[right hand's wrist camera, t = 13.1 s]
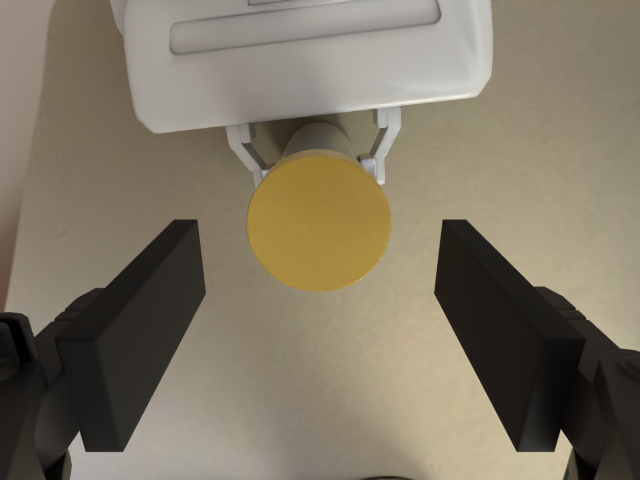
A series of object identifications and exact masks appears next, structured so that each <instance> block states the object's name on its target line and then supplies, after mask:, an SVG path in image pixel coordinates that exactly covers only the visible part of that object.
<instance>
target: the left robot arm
mask: <svg viewBox="0 0 640 480" xmlns="http://www.w3.org/2000/svg"><path fill="white" fill-rule="evenodd" d="M110 4H111V8H112V12H113V16H114V20H115V23H116V26H117V28H118V30H119V32H120V34H121V35H122V37H123V41H124V51H125V61H126V68H127V76H128V82H129V88H130V93H131V98H132V103H133V108H134V112H135V115H136V117H137V119H138V120H139V121H140V122H141V123H142V124H143V125H145V126H146V127H147V128H148V129H149V130H150V131H151V132H153V133H166V132H175V131H184V130H193V129H201V128H210V127H219V126H225V129H226V134H227V139H228V145H229V147H230V148H231V149H232V150H233V151H234V153H235V154H236V155H237V156H238V157H239V159H240V160H241V161H242V162H243V163H244V165H245V166H246V167H247V168H248V170H249V171H252V174H253V180H254V186H255V190H256V189H257V187H258V185H259V183H260V181H261V180H262V179H263V177H264V176H265V174H266V173H267V172H268V171H269V170H270V169H271V168H272V167H273V166H274V165H275V164H266V165H265V162H264V161H263V160H262V158H261V157H260V156H259V154H258V153H257V152H256V150H255V149H254V148H253V146H252V145H251V144H250V142H251V141H252V140H253V139H254V138H255V137H256V132H255V126H254V122H263V121H272V120H280V119H289V118H298V117H307V116H315V115H324V114H333V113H342V112H350V111H359V110H368V109H373V122H374V124H375V125H377V126H378V127H379V128H381V130H380V132H379V134H378V136H377V138H376V140H375V142H374V145H373V147H372V149H371V151H370V153H367V154H359V155H358V161H359V162H360V163H361V164H362V165H364V166H365V167H366V168H367V169H368V170H369V171H370V173H371V174H372V175H373V176H374V178H375V179H376V181H377V183H378V184H379V185H380V184H385V168H384V157H385V156H386V155H387V153H388V151H389V149H390V147H391V146H392V144H393V142H394V140H395V138H396V136H397V134H398V132H399V130H400V128H401V106H403V105H412V104H421V103H429V102H438V101H447V100H456V99H464V98H473V97H476V96H477V95H478V94H479V93H480V92H481V91H482V89H483V88H484V87H485V85H486V84H487V82H488V81H489V79H490V77H491V74H492V65H493V24H492V7H491V0H110Z"/></svg>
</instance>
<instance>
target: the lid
mask: <svg viewBox="0 0 640 480" xmlns="http://www.w3.org/2000/svg"><path fill="white" fill-rule="evenodd" d="M246 227H247V235H248V240H249V243H250V246H251V249H252V251H253V253H254V255H255V257H256V258H257V260H258V261H259V263H260V264H261V265H262V266H263V268H264V269H265V270H266V271H267V272H268V273H269V274H271V275H272V276H273V277H274V278H276V279H277V280H279V281H281V282H282V283H284V284H286V285H288V286H291V287H294V288H296V289H300V290H305V291H312V292H326V291H333V290H337V289H341V288H344V287H347V286H349V285H351V284H353V283H355V282H357V281H359V280H360V279H362V278H363V277H364V276H366V275H367V274H368V273H369V272H370V271H371V270H372V269H373V268H374V267H375V266H376V265H377V263H378V262H379V260H380V259H381V257H382V256H383V254H384V252H385V250H386V247H387V244H388V241H389V237H390V231H391V217H390V210H389V206H388V203H387V200H386V198H385V195H384V193H383V192H382V190H381V188H380V186H379V184H378V183H377V181H376V179H375V178H374V176H373V175H372V174H371V173H370V171H369V170H368V169H367V168H366V167H365V166H364V165H362V164H361V163H360V162H358V161H357V160H355V159H354V158H352V157H350V156H348V155H346V154H343V153H340V152H337V151H333V150H326V149H311V150H305V151H301V152H297V153H294V154H292V155H290V156H287V157H285V158H284V159H282V160H281V161H279V162H278V163H276V164H275V165H274V166H273V167H272V168H271V169H270V170H269V171H268V172H267V173H266V174H265V176H264V177H263V179H262V180H261V181H260V183H259V185H258V187H257V189H256V190H255V192H254V194H253V196H252V198H251V201H250V204H249V207H248V212H247V221H246Z"/></svg>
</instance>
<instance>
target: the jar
mask: <svg viewBox="0 0 640 480" xmlns="http://www.w3.org/2000/svg"><path fill="white" fill-rule="evenodd" d="M311 149H326V150H333V151H337V152H340V153H343V154H346V155H348V156H350V157H352V158H354V159H355V160H357V161H358V158H357V156H356V154H355V152H354V150H353V148H352V145H351V143H350V141H349V139H348V138H347V136H346V135H345V134H344V133H343V132H342V131H341V130H340V129H339V128H338V127H336V126H334V125H332V124H329V123H325V122H314V123H310V124H307V125H305V126H303V127H301V128H300V129H298V130H297V131H296V132H295V133H294V134H293V136H292V137H291V138H290V140H289V142H288V144H287V147H286V149H285V151H284V153H283V155H282V157H281V159H280V161H281V160H282V159H284V158H285V157H287V156H290V155H292V154H294V153H297V152H301V151H305V150H311ZM358 162H359V161H358Z"/></svg>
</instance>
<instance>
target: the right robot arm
mask: <svg viewBox="0 0 640 480" xmlns="http://www.w3.org/2000/svg"><path fill="white" fill-rule="evenodd" d="M205 294H206V290H205V282H204V273H203V264H202V256H201V247H200V239H199V230H198V221H197V220H173V221H172V222H171V223H170V224H169V225H168V226H167V227H166V228H165V229H164V230H163V231H162V232H161V233H160V234H159V235H158V236H157V237H156V238H155V239H154V240H153V241H152V242H151V243H150V244H149V245H148V246H147V247H146V248H145V249H144V250H143V251H142V252H141V253H140V254H139V255H138V256H137V257H136V258H135V259H134V260H133V261H132V262H131V263H130V264H129V265H128V266H127V267H126V268H125V269H124V270H123V271H122V272H121V273H120V274H119V275H118V276H117V277H116V278H115V279H114V280H113V281H112V282H111V283H110V284H109V285H108V286H107V287H106V288H95V289H93V290H91V291H89V292H88V293H86V294H84V295H82V296H80V297H78V298H77V299H76V300H75V301H73V302H72V303H71V304H70V305H69V306H68V307H67V308H66V309H65V312H61V313H60V314H59V315H58V316H57V317H56V318H55V319H54V322H51V323H50V324H48V325H47V326H46V327H45V328H44V329H43V330H42V331H41V332H40V333H39V334H38V335H36V336H35V337H34V335H33V332H32V329H31V326H30V322H29V319H28V317H26V316H25V315H23V314H21V313H13V312H6V313H0V480H70V475H71V468H72V464H71V458H70V454H69V451H68V447H69V445H70V444H71V442H72V441H73V439H74V438H75V436H76V435H77V434H78V432H79V431H80V433H81V437H82V440H83V444H84V447H85V451H86V452H123V451H124V449H125V447H126V445H127V443H128V441H129V440H130V438H131V436H132V434H133V432H134V430H135V428H136V426H137V424H138V422H139V420H140V419H141V417H142V415H143V413H144V411H145V409H146V407H147V405H148V403H149V401H150V399H151V397H152V396H153V394H154V392H155V390H156V388H157V386H158V384H159V382H160V380H161V378H162V376H163V374H164V373H165V371H166V369H167V367H168V365H169V363H170V361H171V359H172V357H173V355H174V353H175V351H176V350H177V348H178V346H179V344H180V342H181V340H182V338H183V336H184V334H185V332H186V330H187V328H188V327H189V325H190V323H191V321H192V319H193V317H194V315H195V313H196V311H197V309H198V307H199V306H200V304H201V302H202V300H203V298H204V296H205ZM434 294H435V296H436V298H437V300H438V302H439V304H440V306H441V307H442V309H443V311H444V313H445V315H446V317H447V319H448V321H449V323H450V325H451V327H452V328H453V330H454V332H455V334H456V336H457V338H458V340H459V342H460V344H461V346H462V348H463V350H464V351H465V353H466V355H467V357H468V359H469V361H470V363H471V365H472V367H473V369H474V371H475V373H476V374H477V376H478V378H479V380H480V382H481V384H482V386H483V388H484V390H485V392H486V394H487V396H488V397H489V399H490V401H491V403H492V405H493V407H494V409H495V411H496V413H497V415H498V417H499V419H500V420H501V422H502V424H503V426H504V428H505V430H506V432H507V434H508V436H509V438H510V440H511V441H512V443H513V445H514V447H515V449H516V451H517V452H554V451H555V447H556V444H557V440H558V437H559V433H560V430H562V431H563V433H564V434H565V436H566V437H567V439H568V440H569V442H570V443H571V445H572V446H573V447H572V451H571V454H570V457H569V461H568V464H567V467H566V470H565V474H564V477H563V480H640V352H639V351H635V350H628V349H620V348H619V347H618V346H617V345H616V344H615V343H613V342H612V341H611V340H610V339H609V338H608V337H607V336H606V335H605V334H604V333H603V332H601V331H600V330H599V329H598V328H597V327H596V326H595V325H594V324H593V323H592V322H590V321H589V320H586V317H585V316H584V315H583V314H582V313H581V312H580V311H578V310H576V308H575V307H574V306H573V305H572V304H571V303H570V302H569V301H567V300H566V299H565V298H564V297H563V296H561V295H559V294H557V293H556V292H554V291H552V290H550V289H548V288H546V287H533V286H532V285H531V284H530V283H529V282H528V281H527V280H526V279H525V278H524V277H523V276H522V275H521V274H520V273H519V272H518V271H517V270H516V269H515V268H514V267H513V266H512V265H511V264H510V263H509V262H508V261H507V260H506V259H505V258H504V257H503V256H502V255H501V254H500V253H499V252H498V251H497V250H496V249H495V248H494V247H493V246H492V245H491V244H490V243H489V242H488V241H487V240H486V239H485V238H484V237H483V236H482V235H481V234H480V233H479V232H478V231H477V230H476V229H475V228H474V227H473V226H472V225H471V224H470V223H469V222H468V221H467V220H443V221H442V230H441V239H440V247H439V256H438V264H437V273H436V282H435V290H434ZM373 480H405V479H397V478H381V479H373Z"/></svg>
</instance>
